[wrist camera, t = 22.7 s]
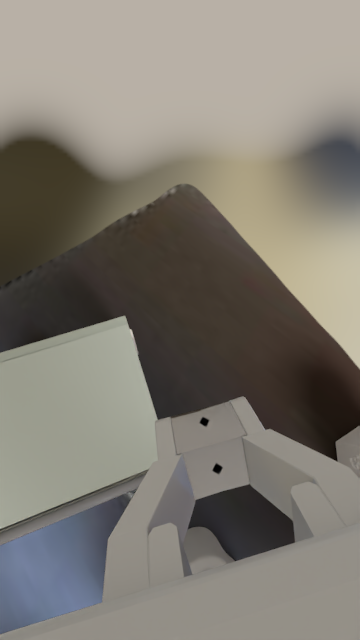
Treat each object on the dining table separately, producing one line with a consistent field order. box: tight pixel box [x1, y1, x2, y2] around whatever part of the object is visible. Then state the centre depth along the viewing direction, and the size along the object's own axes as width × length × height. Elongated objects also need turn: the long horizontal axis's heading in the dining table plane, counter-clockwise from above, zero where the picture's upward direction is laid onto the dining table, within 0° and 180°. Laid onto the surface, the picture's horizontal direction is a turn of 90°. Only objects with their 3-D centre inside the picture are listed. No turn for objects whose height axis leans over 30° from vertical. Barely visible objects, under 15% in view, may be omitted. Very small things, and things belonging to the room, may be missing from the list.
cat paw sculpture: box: [183, 527, 235, 574], centre depth 29 cm, size 10×13×9 cm
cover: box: [0, 316, 158, 529], centre depth 28 cm, size 15×20×2 cm
